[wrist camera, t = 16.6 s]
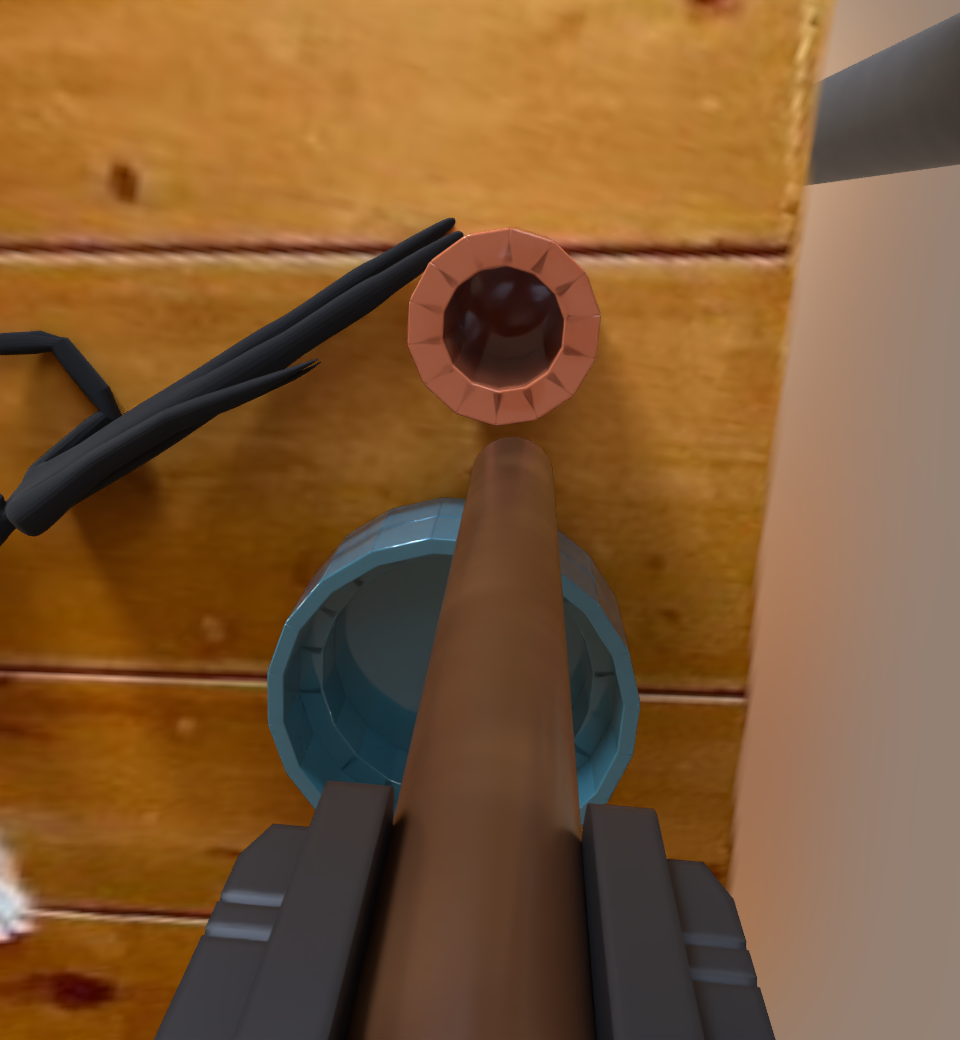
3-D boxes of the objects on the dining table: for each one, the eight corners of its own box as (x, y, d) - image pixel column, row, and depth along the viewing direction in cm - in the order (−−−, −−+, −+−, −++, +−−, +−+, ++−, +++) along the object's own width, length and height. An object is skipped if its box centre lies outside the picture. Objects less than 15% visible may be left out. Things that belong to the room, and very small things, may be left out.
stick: (556, 438, 24) (651, 1355, 5) (549, 516, 24) (611, 1576, 6) (474, 433, 24) (250, 1316, 5) (470, 510, 24) (263, 1537, 6)
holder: (592, 232, 36) (610, 234, 28) (576, 391, 38) (588, 433, 30) (436, 221, 36) (411, 220, 29) (428, 380, 38) (403, 419, 31)
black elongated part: (357, 47, 28) (-231, 441, 32) (488, 279, 33) (-38, 601, 36) (349, 32, 35) (-134, 359, 38) (458, 226, 39) (18, 501, 43)
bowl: (642, 508, 40) (662, 556, 34) (604, 798, 44) (615, 882, 39) (302, 481, 40) (265, 524, 34) (301, 771, 45) (268, 851, 39)
